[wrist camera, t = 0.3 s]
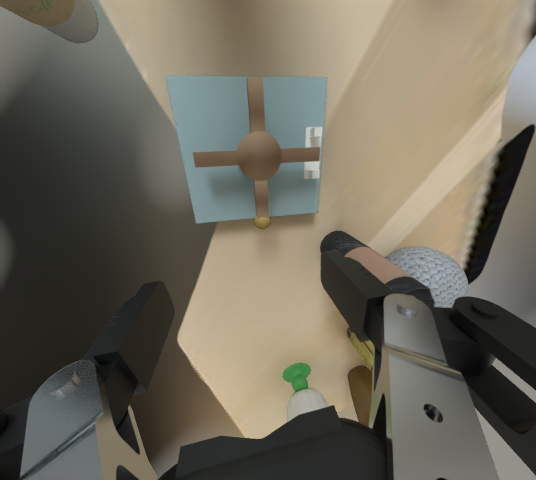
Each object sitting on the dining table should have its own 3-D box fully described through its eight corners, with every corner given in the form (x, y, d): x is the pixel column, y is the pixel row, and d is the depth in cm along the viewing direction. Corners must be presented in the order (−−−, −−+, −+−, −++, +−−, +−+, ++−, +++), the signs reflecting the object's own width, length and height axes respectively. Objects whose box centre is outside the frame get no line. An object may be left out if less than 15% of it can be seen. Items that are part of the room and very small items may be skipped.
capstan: (187, 89, 25) (177, 74, 20) (310, 89, 27) (326, 75, 22) (211, 225, 33) (207, 237, 28) (305, 217, 35) (316, 226, 30)
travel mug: (314, 258, 43) (373, 332, 25) (325, 227, 40) (399, 284, 22) (343, 261, 45) (418, 332, 27) (355, 231, 42) (448, 289, 24)
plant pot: (384, 357, 64) (427, 415, 50) (366, 384, 70) (401, 444, 55) (346, 358, 61) (381, 421, 46) (331, 386, 66) (358, 450, 52)
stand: (171, 83, 27) (159, 68, 22) (318, 84, 30) (334, 71, 25) (199, 221, 35) (194, 230, 31) (311, 211, 38) (322, 218, 34)
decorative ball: (382, 296, 52) (435, 345, 38) (352, 268, 46) (402, 315, 32) (428, 258, 49) (502, 297, 35) (402, 223, 43) (479, 254, 30)
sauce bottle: (351, 340, 57) (405, 423, 39) (342, 330, 55) (395, 414, 37) (369, 328, 57) (432, 408, 39) (361, 317, 54) (424, 398, 36)
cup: (270, 386, 60) (281, 457, 46) (283, 357, 55) (300, 427, 41) (308, 385, 64) (329, 452, 49) (323, 358, 59) (352, 423, 45)
